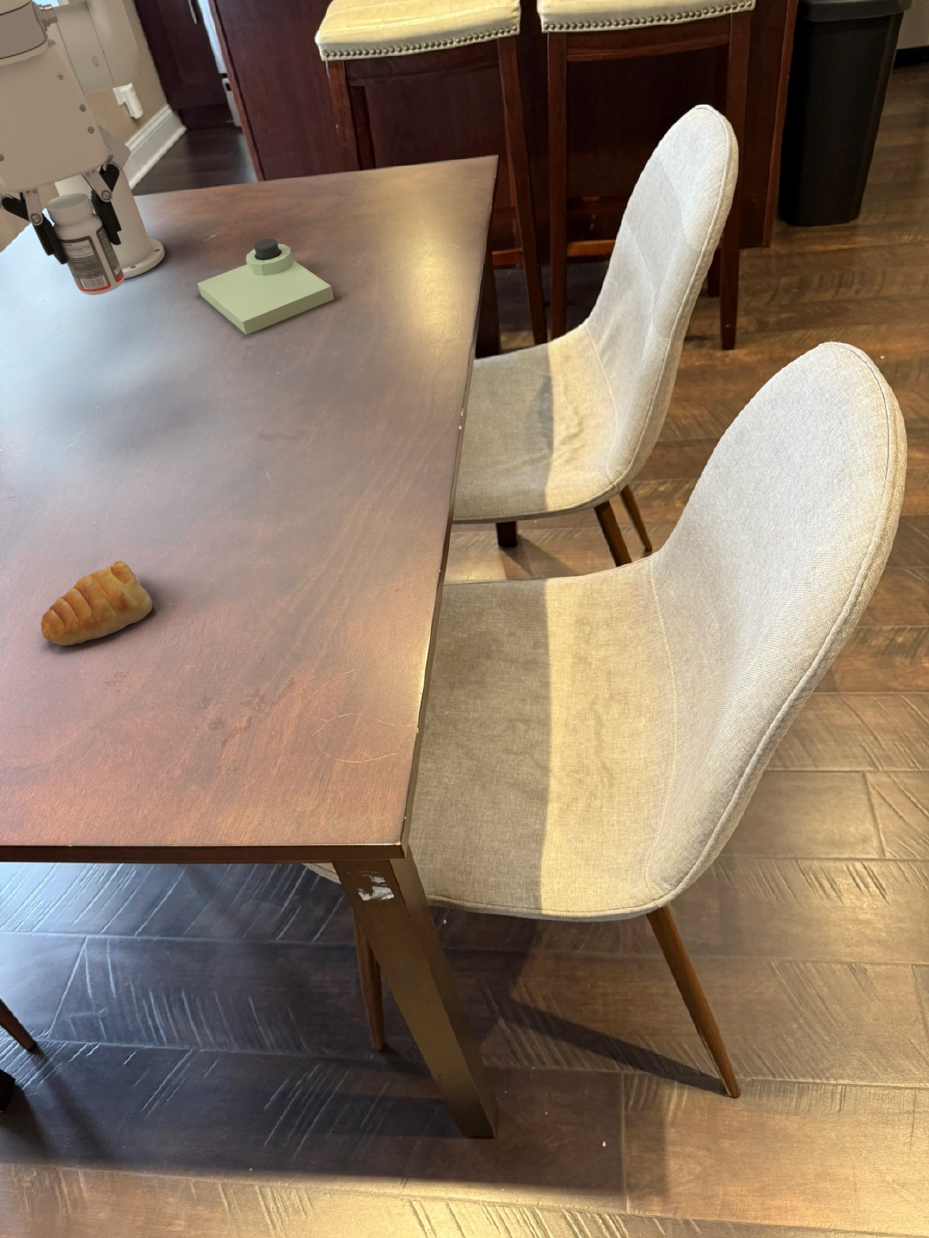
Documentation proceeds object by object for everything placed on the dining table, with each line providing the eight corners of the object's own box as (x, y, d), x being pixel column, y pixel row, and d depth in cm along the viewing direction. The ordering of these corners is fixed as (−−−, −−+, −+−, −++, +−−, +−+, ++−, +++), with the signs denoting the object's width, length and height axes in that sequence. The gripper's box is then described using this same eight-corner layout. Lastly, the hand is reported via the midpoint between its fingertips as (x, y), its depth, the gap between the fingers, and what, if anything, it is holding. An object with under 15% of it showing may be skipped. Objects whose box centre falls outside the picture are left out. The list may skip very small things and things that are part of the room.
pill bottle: (106, 270, 90) (72, 187, 84) (135, 279, 88) (101, 195, 82) (69, 290, 88) (31, 206, 82) (97, 300, 86) (60, 215, 80)
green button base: (201, 296, 120) (192, 271, 117) (284, 264, 124) (278, 240, 122) (246, 335, 111) (238, 310, 108) (334, 299, 115) (329, 274, 113)
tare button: (253, 256, 119) (250, 244, 118) (274, 249, 120) (270, 236, 119) (263, 264, 117) (260, 251, 116) (284, 256, 119) (281, 243, 117)
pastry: (63, 666, 74) (42, 636, 71) (37, 625, 78) (16, 595, 75) (162, 610, 78) (146, 580, 75) (132, 573, 81) (116, 543, 79)
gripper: (80, 4, 77) (154, 211, 90) (-117, 54, 72) (-7, 267, 85) (107, 17, 73) (181, 233, 86) (-101, 72, 67) (12, 293, 81)
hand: (86, 248), depth 85 cm, fingers closed on pill bottle, 4 cm apart
